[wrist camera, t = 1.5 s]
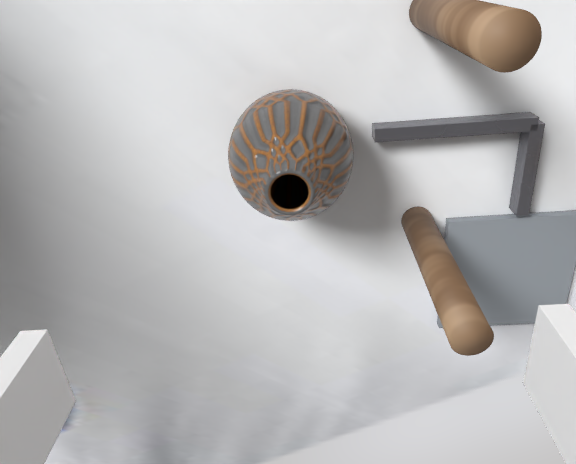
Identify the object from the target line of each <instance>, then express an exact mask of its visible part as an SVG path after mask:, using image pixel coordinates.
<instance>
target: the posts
mask: <svg viewBox="0 0 576 464" xmlns="http://www.w3.org/2000/svg"><path fill="white" fill-rule="evenodd" d="M409 17H410V20H411V22H412V24H413V25H414V26H415V27H416V28H418V29H419V30H421V31H423V32H425V33H427V34H429V35H430V36H432V37H434V38H436V39H438V40H440V41H441V42H443V43H445V44H447V45H449V46H450V47H452V48H454V49H456V50H458V51H460V52H461V53H463V54H465V55H467V56H469V57H471V58H472V59H474V60H476V61H478V62H480V63H482V64H483V65H485V66H487V67H489V68H491V69H493V70H495V71H498V72H512V71H515V70H518V69H520V68H521V67H523V66H524V65H526V64H527V63H528V62H529V61H530V60H531V59H532V58H533V57H534V55H535V54H536V52H537V50H538V48H539V45H540V42H541V27H540V24H539V22H538V20H537V18H536V17H535V16H534V15H533V14H531V13H530V12H528V11H525V10H522V9H517V8H512V7H507V6H503V5H498V4H493V3H488V2H484V1H479V0H413V1H412V3H411V6H410V9H409ZM401 222H402V226H403V229H404V231H405V234H406V236H407V239H408V241H409V244H410V246H411V249H412V251H413V254H414V256H415V259H416V261H417V264H418V266H419V269H420V271H421V274H422V276H423V279H424V281H425V283H426V286H427V288H428V291H429V293H430V296H431V298H432V301H433V303H434V306H435V308H436V311H437V313H438V316H439V318H440V321H441V323H442V326H443V328H444V331H445V333H446V336H447V338H448V341H449V343H450V346H451V348H452V349H453V350H454V351H455V352H456V353H458V354H461V355H476V354H479V353H481V352H483V351H485V350H486V349H487V348H488V347H489V346H490V345H491V344H492V342H493V339H494V334H493V331H492V329H491V327H490V325H489V323H488V321H487V320H486V318H485V316H484V314H483V312H482V310H481V308H480V306H479V304H478V303H477V301H476V299H475V297H474V295H473V293H472V291H471V289H470V288H469V286H468V284H467V282H466V280H465V278H464V276H463V274H462V272H461V271H460V269H459V267H458V265H457V263H456V261H455V259H454V257H453V256H452V254H451V252H450V250H449V248H448V246H447V244H446V242H445V240H444V239H443V237H442V235H441V233H440V231H439V229H438V227H437V225H436V224H435V222H434V220H433V218H432V216H431V214H430V212H429V211H428V210H427V209H425V208H423V207H413V208H411V209H409V210H407V211H406V212H405V213H404V215H403V217H402V221H401Z"/></svg>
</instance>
